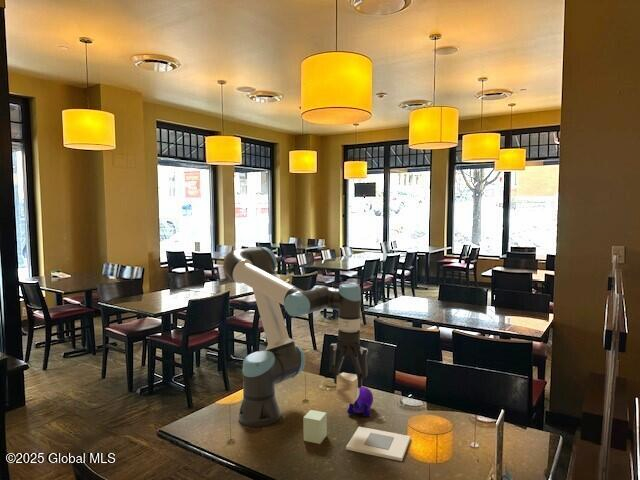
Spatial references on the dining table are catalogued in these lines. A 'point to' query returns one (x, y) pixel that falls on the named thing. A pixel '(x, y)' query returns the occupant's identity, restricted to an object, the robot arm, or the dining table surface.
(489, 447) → the dining table surface
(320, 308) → the robot arm
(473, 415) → the dining table surface
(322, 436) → the block sage
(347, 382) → the block maple
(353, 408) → the toy
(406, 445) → the base plate
